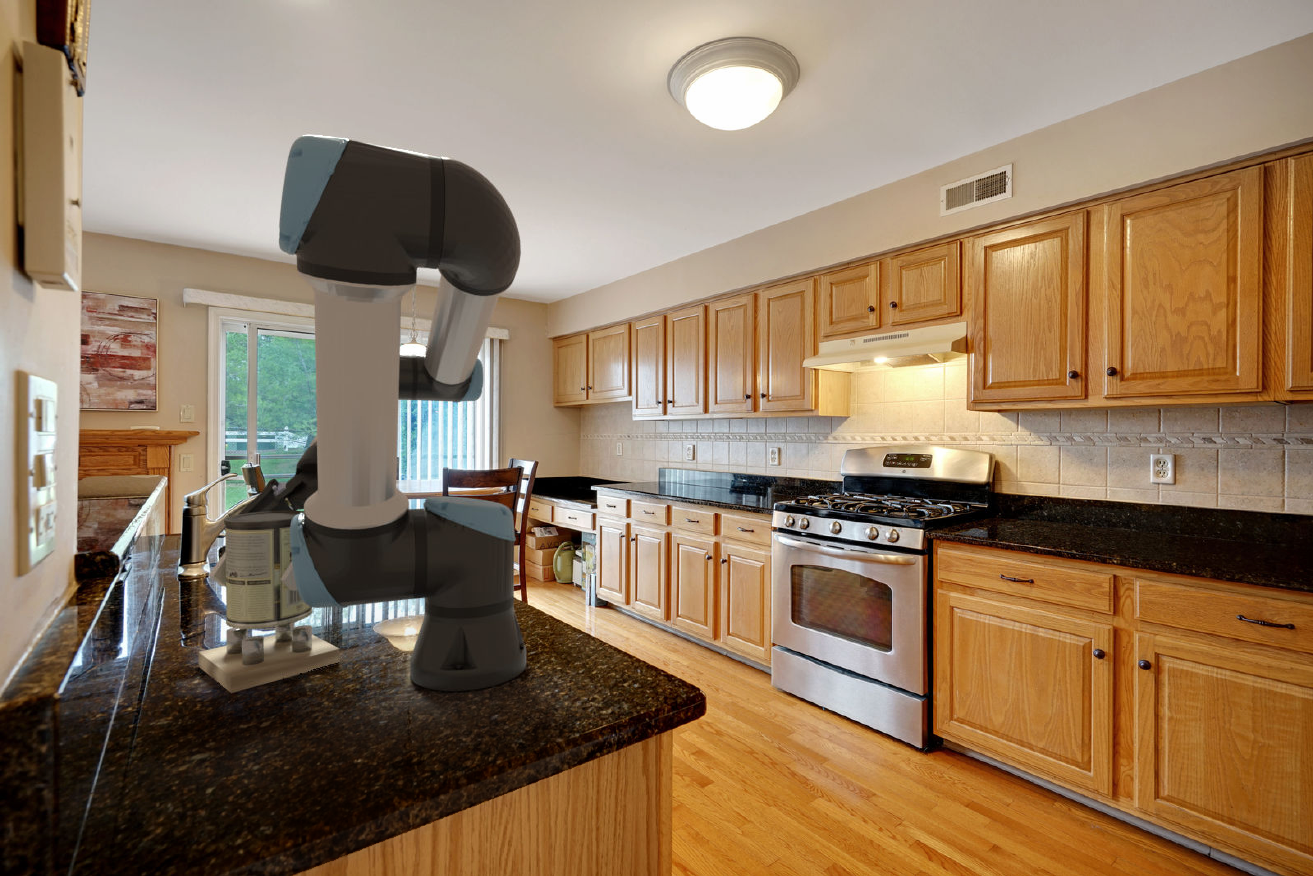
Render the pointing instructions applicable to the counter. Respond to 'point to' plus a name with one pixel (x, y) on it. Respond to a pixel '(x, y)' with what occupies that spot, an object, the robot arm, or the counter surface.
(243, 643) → the peg set
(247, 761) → the counter surface
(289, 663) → the stand plate
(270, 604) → the coffee can
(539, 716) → the counter surface
